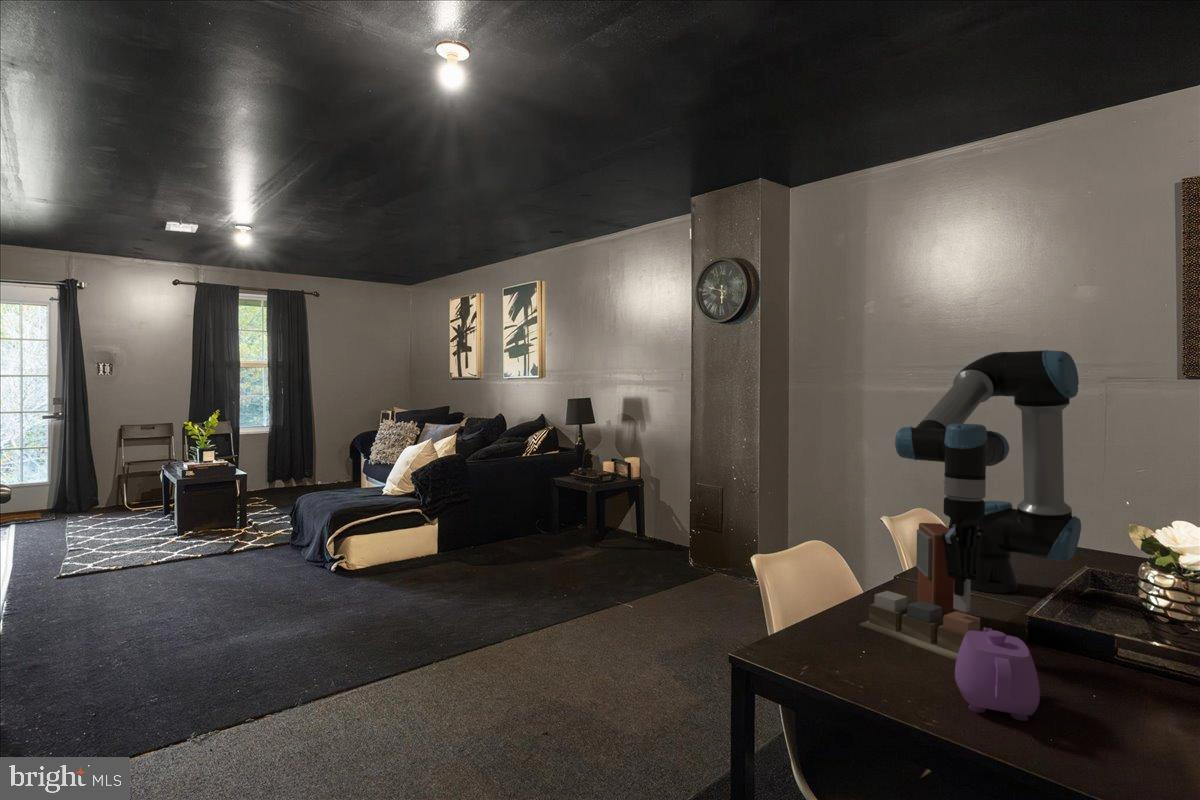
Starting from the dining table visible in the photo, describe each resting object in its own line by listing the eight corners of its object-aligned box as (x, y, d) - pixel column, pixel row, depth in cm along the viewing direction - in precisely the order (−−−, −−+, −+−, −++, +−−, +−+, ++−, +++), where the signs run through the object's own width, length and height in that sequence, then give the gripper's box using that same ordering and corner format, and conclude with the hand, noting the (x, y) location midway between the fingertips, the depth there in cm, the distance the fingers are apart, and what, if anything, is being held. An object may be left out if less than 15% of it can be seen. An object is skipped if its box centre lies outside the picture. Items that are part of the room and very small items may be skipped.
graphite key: (919, 617, 145) (920, 600, 145) (941, 624, 141) (942, 606, 141) (907, 622, 142) (907, 604, 142) (929, 629, 138) (929, 611, 138)
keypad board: (889, 615, 155) (889, 596, 155) (995, 650, 135) (995, 628, 135) (859, 625, 148) (859, 606, 148) (965, 663, 128) (966, 641, 128)
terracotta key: (955, 629, 138) (955, 611, 138) (979, 637, 134) (980, 618, 134) (943, 634, 135) (943, 615, 135) (967, 642, 131) (967, 623, 131)
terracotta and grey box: (941, 607, 160) (963, 630, 145) (911, 605, 161) (929, 628, 147) (943, 522, 159) (965, 536, 145) (913, 521, 161) (931, 535, 146)
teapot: (1050, 741, 101) (1052, 661, 100) (960, 723, 106) (961, 647, 105) (1025, 686, 119) (1027, 618, 119) (949, 673, 124) (951, 608, 124)
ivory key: (886, 607, 152) (887, 590, 151) (907, 613, 147) (907, 596, 147) (874, 611, 149) (874, 594, 149) (894, 618, 145) (894, 600, 144)
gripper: (962, 492, 141) (959, 599, 141) (929, 497, 133) (926, 610, 134) (998, 497, 134) (995, 609, 135) (966, 503, 127) (963, 621, 128)
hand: (961, 609), depth 134 cm, fingers closed
